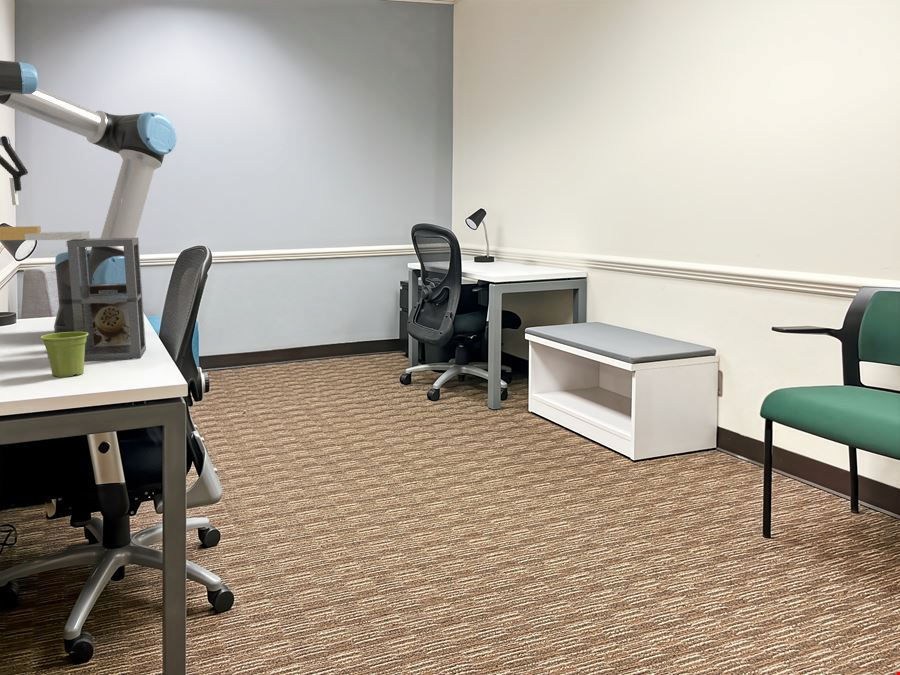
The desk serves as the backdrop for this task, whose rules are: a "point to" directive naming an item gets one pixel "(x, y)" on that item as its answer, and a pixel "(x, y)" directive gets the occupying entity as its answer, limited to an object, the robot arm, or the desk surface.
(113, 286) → the coffee box
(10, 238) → the blanking panel
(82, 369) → the plant pot
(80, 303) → the rack
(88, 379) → the desk surface
